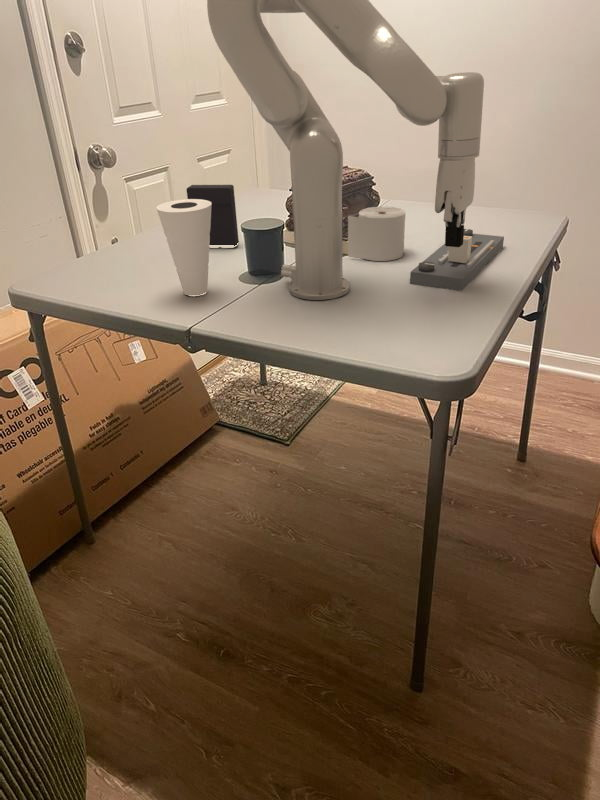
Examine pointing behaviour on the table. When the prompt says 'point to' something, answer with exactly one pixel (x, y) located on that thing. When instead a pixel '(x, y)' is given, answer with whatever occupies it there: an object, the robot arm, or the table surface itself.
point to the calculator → (219, 211)
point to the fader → (461, 251)
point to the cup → (188, 240)
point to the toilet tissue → (377, 234)
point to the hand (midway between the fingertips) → (453, 245)
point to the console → (456, 263)
